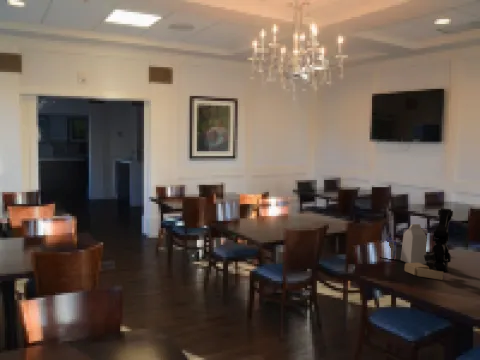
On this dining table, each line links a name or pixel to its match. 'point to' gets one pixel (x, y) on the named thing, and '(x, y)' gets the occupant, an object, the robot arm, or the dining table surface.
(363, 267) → the dining table surface
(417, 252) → the milk
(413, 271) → the carton
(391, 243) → the ink cartridge box
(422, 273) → the flap
